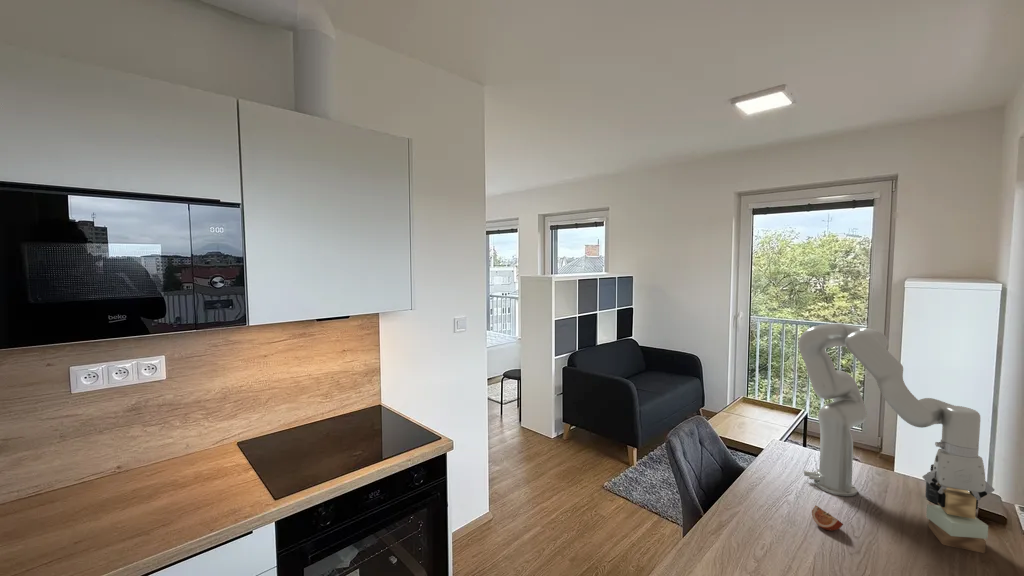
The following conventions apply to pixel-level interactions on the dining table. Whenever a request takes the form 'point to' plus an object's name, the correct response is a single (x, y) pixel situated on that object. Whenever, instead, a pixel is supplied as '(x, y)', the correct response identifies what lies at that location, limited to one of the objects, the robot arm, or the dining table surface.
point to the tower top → (957, 523)
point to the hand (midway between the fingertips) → (955, 507)
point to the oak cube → (959, 503)
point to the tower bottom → (958, 540)
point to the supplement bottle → (931, 489)
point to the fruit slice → (825, 519)
